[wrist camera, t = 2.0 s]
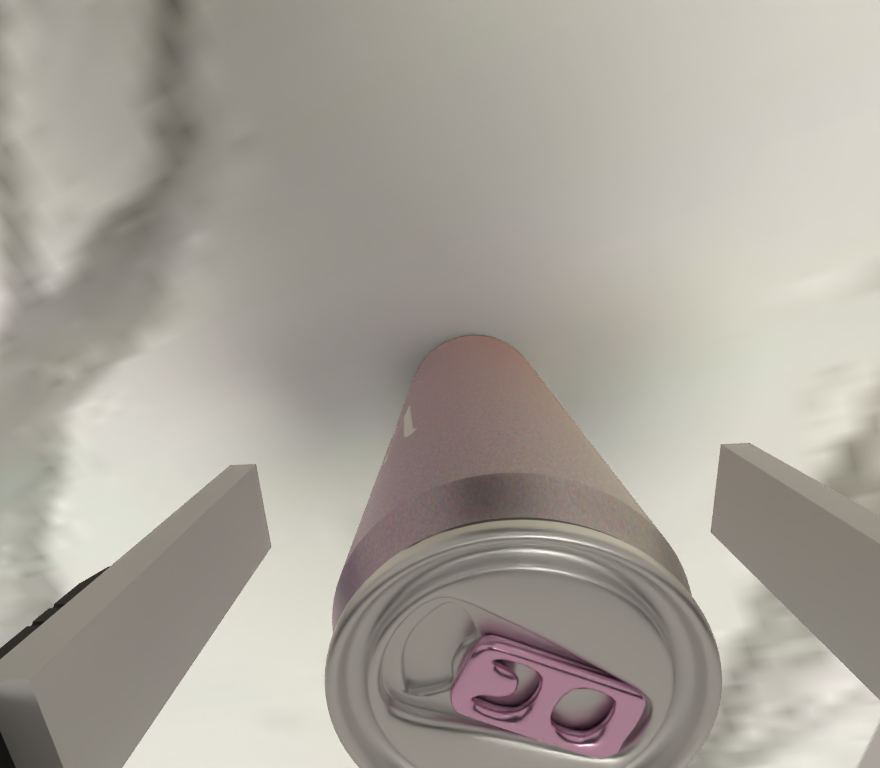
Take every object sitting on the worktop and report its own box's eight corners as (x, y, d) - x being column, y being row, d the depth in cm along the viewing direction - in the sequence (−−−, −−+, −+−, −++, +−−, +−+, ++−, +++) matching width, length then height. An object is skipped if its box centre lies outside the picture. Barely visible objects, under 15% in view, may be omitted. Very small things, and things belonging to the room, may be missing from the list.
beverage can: (504, 465, 21) (611, 885, 7) (395, 424, 21) (261, 778, 6) (555, 360, 20) (833, 613, 5) (438, 314, 19) (390, 449, 5)
